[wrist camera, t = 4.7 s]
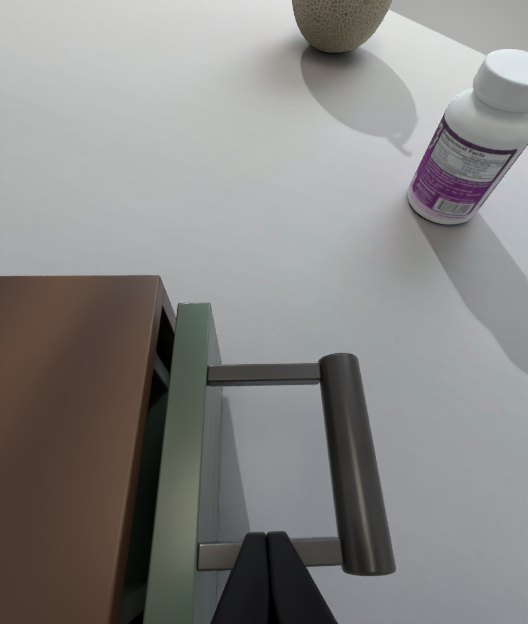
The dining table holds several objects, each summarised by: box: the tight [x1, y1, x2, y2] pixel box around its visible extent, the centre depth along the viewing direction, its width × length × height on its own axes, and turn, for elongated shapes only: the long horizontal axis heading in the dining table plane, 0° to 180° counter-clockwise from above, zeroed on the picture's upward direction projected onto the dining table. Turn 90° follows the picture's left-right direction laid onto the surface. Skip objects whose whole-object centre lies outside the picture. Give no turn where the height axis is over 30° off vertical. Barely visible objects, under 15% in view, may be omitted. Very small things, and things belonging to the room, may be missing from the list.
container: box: [119, 303, 396, 624], centre depth 13 cm, size 18×10×7 cm, turn 92°
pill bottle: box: [408, 49, 528, 224], centre depth 23 cm, size 5×5×10 cm
